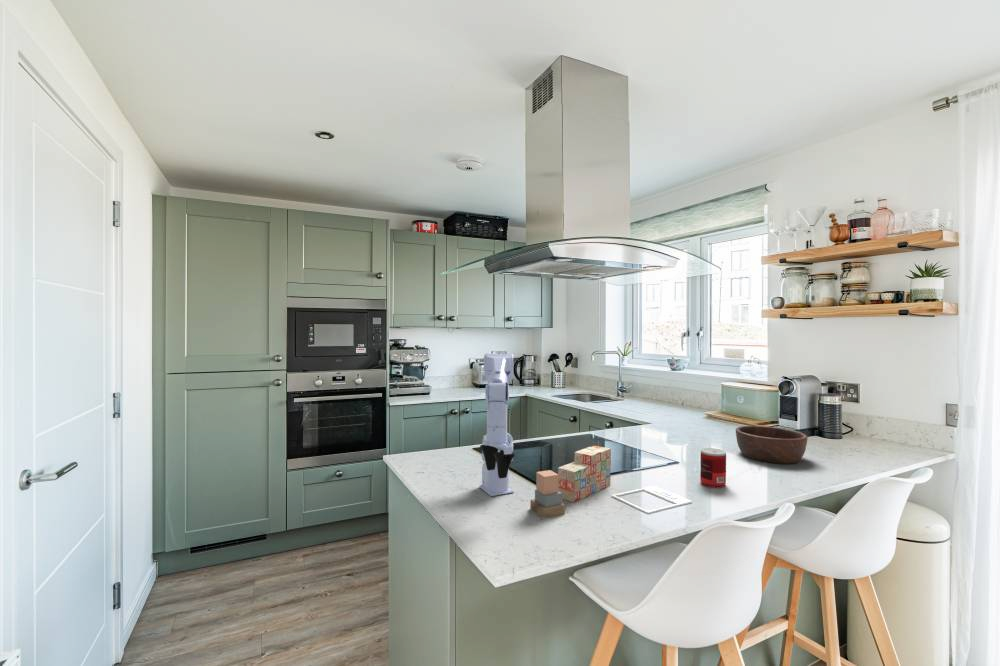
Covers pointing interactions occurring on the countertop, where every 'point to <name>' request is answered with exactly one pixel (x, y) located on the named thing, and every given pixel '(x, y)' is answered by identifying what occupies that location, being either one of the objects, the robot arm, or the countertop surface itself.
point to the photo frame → (659, 493)
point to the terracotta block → (547, 482)
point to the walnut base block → (547, 509)
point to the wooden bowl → (771, 444)
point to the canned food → (713, 467)
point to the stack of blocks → (585, 473)
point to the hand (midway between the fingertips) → (496, 473)
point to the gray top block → (548, 498)
